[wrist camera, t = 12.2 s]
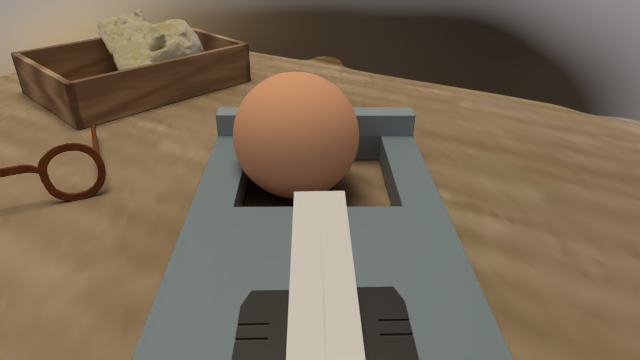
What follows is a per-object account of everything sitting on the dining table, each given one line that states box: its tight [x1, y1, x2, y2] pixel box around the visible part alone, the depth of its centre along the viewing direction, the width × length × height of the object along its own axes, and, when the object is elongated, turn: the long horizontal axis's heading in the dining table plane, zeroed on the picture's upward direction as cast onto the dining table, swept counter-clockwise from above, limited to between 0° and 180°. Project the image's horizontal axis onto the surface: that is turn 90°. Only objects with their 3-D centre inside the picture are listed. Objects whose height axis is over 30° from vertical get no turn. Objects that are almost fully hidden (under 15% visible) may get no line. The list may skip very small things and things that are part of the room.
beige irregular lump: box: [98, 9, 205, 70], centre depth 64 cm, size 15×7×15 cm
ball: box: [233, 72, 359, 199], centre depth 39 cm, size 10×10×10 cm
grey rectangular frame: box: [131, 107, 514, 360], centre depth 34 cm, size 30×18×4 cm, turn 1°
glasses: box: [0, 124, 106, 201], centre depth 42 cm, size 13×13×5 cm
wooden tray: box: [11, 27, 251, 130], centre depth 62 cm, size 16×23×5 cm
